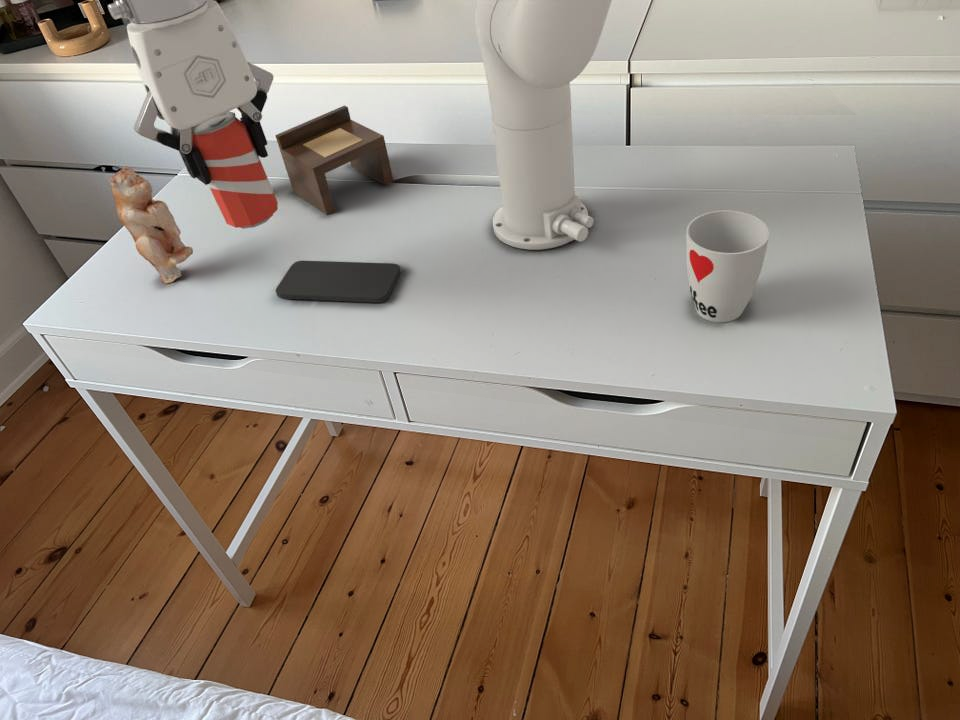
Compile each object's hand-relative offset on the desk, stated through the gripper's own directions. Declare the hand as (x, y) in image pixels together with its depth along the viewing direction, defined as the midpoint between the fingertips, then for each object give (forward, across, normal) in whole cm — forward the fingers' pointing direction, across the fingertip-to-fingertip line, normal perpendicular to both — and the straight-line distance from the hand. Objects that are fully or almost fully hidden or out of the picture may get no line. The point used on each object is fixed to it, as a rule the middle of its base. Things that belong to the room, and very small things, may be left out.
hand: (231, 165), depth 86 cm
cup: (+19, +33, -42) cm, 57 cm away
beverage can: (+7, 0, 0) cm, 7 cm away
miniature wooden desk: (+18, +20, +17) cm, 32 cm away
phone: (+18, +6, -4) cm, 20 cm away
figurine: (+18, -8, +16) cm, 26 cm away
